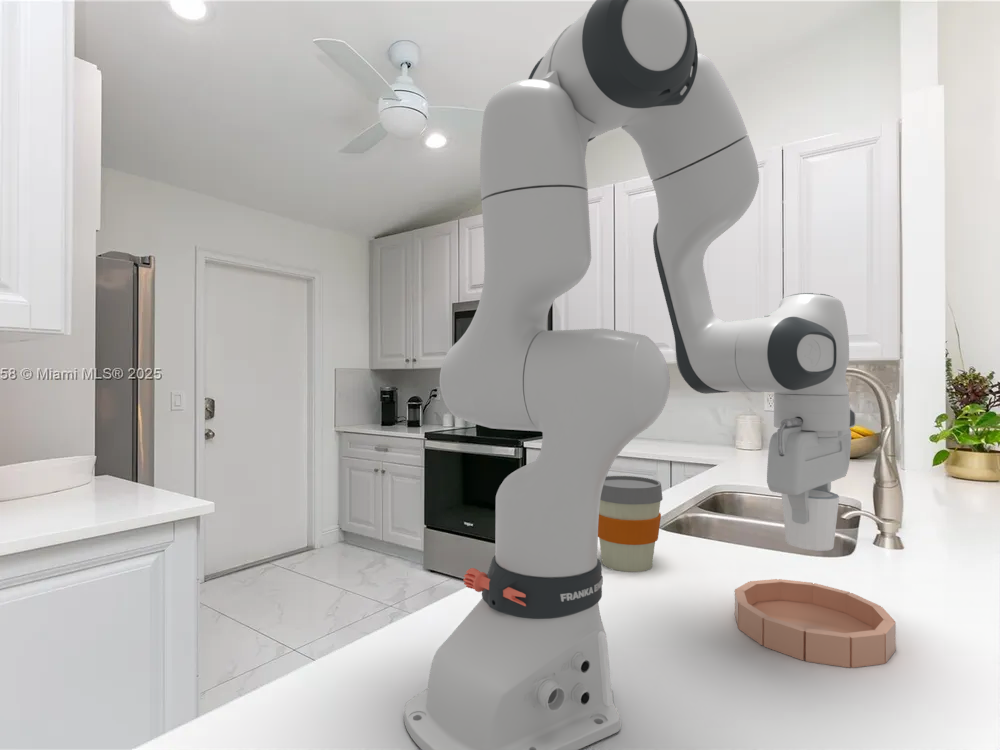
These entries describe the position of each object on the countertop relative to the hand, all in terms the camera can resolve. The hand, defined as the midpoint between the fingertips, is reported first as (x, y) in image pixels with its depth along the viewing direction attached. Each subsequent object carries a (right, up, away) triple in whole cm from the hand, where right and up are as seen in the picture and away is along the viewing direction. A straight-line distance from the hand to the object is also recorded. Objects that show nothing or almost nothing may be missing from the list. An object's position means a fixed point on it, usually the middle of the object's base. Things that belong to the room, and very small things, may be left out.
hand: (810, 518), depth 73 cm
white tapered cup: (0, -4, 0) cm, 4 cm away
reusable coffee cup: (-19, -16, +26) cm, 36 cm away
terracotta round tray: (0, -15, 0) cm, 15 cm away
